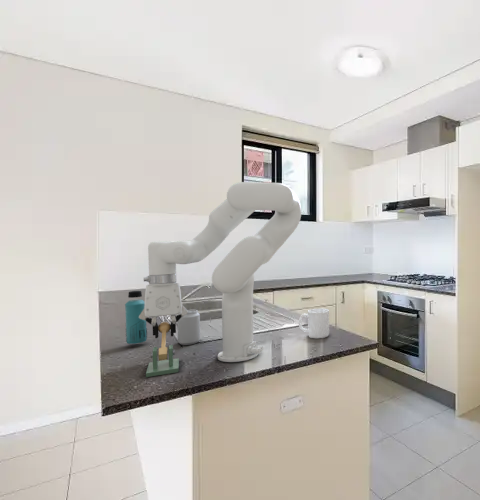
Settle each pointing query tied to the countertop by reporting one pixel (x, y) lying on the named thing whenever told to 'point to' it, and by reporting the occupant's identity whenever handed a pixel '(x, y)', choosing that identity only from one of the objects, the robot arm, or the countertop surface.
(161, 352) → the spoon
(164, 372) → the spoon stand
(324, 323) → the cup
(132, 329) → the beverage bottle
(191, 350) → the countertop surface
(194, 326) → the can
